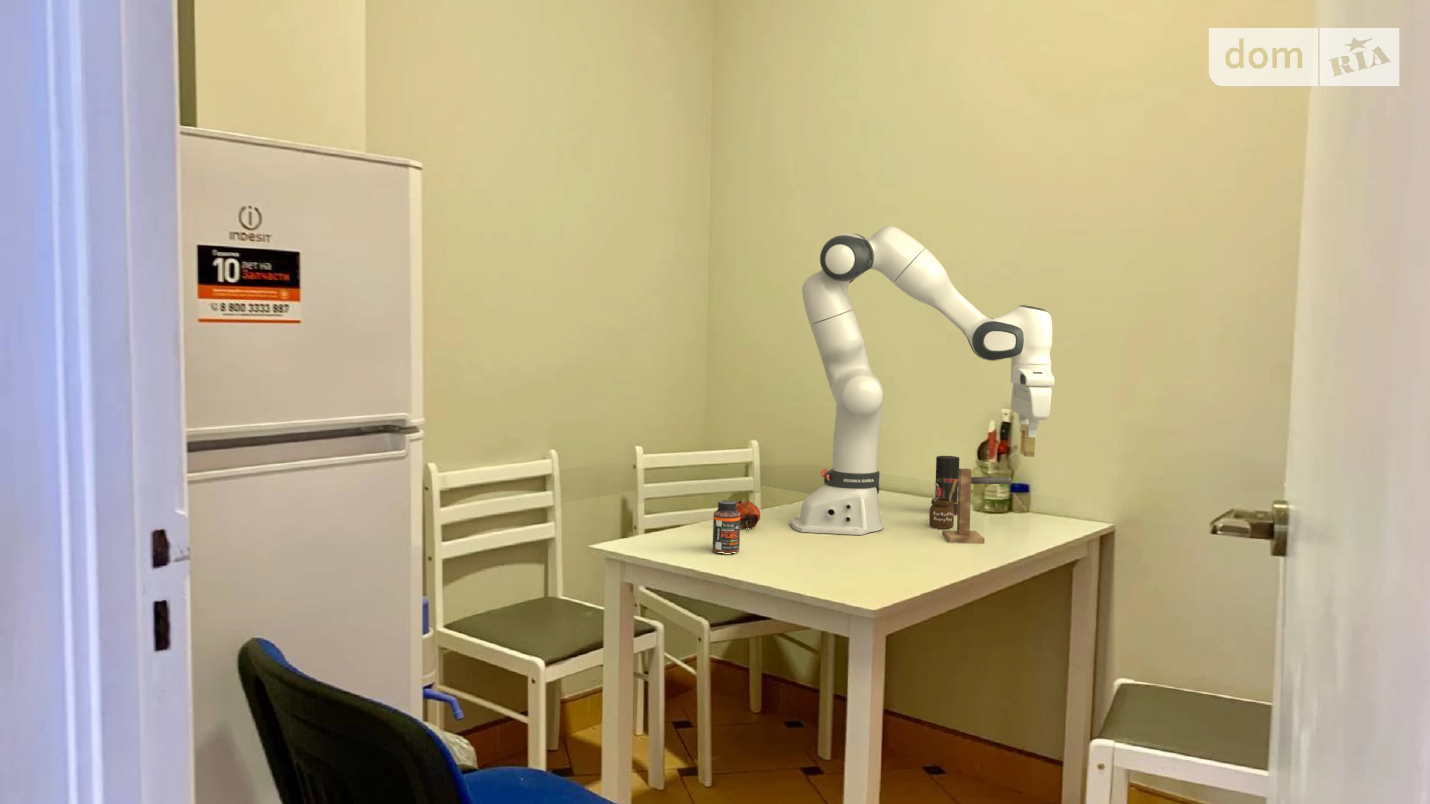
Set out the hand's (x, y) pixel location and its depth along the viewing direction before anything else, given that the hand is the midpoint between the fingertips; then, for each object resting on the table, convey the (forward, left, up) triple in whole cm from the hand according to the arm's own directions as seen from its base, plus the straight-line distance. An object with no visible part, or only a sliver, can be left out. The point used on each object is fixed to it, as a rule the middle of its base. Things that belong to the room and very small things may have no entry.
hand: (1027, 435), depth 239 cm
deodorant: (-11, +30, -25) cm, 41 cm away
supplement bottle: (-70, -15, -25) cm, 76 cm away
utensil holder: (-16, +13, -25) cm, 33 cm away
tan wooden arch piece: (0, 0, -5) cm, 5 cm away
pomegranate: (-65, +8, -25) cm, 70 cm away
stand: (-11, 0, -25) cm, 27 cm away
